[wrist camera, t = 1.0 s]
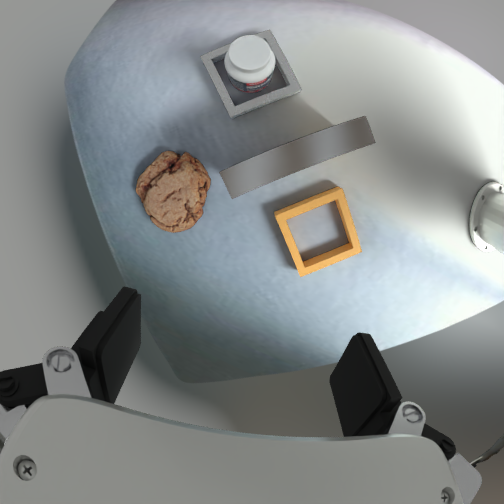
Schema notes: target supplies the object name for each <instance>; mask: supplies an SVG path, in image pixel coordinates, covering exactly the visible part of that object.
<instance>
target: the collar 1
mask: <svg viewBox="0 0 504 504" xmlns="http://www.w3.org/2000/svg"><path fill="white" fill-rule="evenodd" d="M254 36H258V37H261V38H262V39H264V40H265V41H266V42H267V43H268V44H269V46H270V49H271V50H272V51H273V53H274V56H275V63H276V65H277V66H278V68H279V70H280V72H281V74H282V76H283V78H284V80H285V82H286V84H287V86H286V87H283V88H280V89H278V90H275V91H272V92H270V93H267V94H264V95H262V96H259V97H257V98H254V99H252V100H249V101H247V102H244V103H242V104H240V105H237V106H234V104H233V102H232V100H231V97H230V95H229V93H228V91H227V89H226V87H225V85H224V83H223V81H222V79H221V77H220V75H219V73H218V71H217V69H216V67H215V65H214V63H216V62H218V61H220V60H223V59H225V56H226V53H227V51H228V50H229V47H230V45H231V44H232V43H230V44H228V45H225V46H223V47H220V48H218V49H216V50H213V51H211V52H209V53H206V54H204V55H202V56H200V57H201V59H202V61H203V63H204V65H205V67H206V69H207V71H208V73H209V75H210V77H211V79H212V81H213V83H214V85H215V87H216V89H217V91H218V93H219V95H220V97H221V99H222V101H223V103H224V105H225V107H226V109H227V111H228V114H229V116H230V118H231V119H233V118H235V117H238V116H240V115H242V114H245V113H247V112H249V111H252V110H254V109H257V108H259V107H262V106H264V105H267V104H269V103H272V102H275V101H277V100H280V99H283V98H286V97H288V96H291V95H294V94H297V93H299V92H300V91H301V90H302V89H301V87H300V85H299V83H298V81H297V79H296V77H295V75H294V73H293V71H292V69H291V67H290V65H289V63H288V61H287V59H286V58H285V56H284V54H283V52H282V50H281V48H280V47H279V45H278V43H277V41H276V39H275V38H274V36H273V34H272V32H271V31H270V30H267V31H264V32H261V33H257V34H255V35H254Z"/></svg>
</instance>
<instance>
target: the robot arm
mask: <svg viewBox="0 0 504 504" xmlns="http://www.w3.org/2000/svg"><path fill="white" fill-rule="evenodd" d="M470 234H471V238H472V241H473V243H474V244H475V246H476V247H477V248H478V249H480V250H482V251H484V252H490V251H492V250H494V249H496V250H498V251H499V252H501V253H503V254H504V186H503V185H502V184H499V183H496V182H489V183H487V184H486V185H484V186H483V187H482V188H481V190H480V191H479V192H478V194H477V196H476V198H475V200H474V202H473V205H472V209H471V214H470ZM140 325H141V295H140V294H137V290H136V289H132V288H128V287H123V288H122V289H121V291H120V292H119V293H118V294H117V296H116V297H115V298H114V299H113V301H112V302H111V303H110V305H109V306H108V307H107V308H106V310H105V311H104V312H103V311H100V312H98V313H97V315H96V316H95V318H93V320H92V321H91V322H90V324H89V325H88V326H87V328H86V329H85V330H84V332H83V333H82V334H81V336H80V337H79V338H78V340H77V341H76V342H75V344H74V345H73V346H72V348H71V349H70V348H68V347H63V346H59V347H58V346H57V347H54V348H51V349H50V350H48V351H47V352H46V353H45V354H44V356H43V362H42V363H40V364H35V365H30V366H25V367H20V368H16V369H10V370H5V371H2V372H0V504H470V503H471V501H472V500H473V498H474V496H475V495H476V493H477V491H478V489H479V487H480V486H481V483H482V478H481V475H480V474H479V472H478V471H477V470H476V469H475V468H474V467H473V466H472V465H470V464H469V463H468V462H467V461H466V460H465V459H464V458H463V457H462V456H461V455H460V454H459V453H458V454H455V452H456V448H455V445H454V443H453V441H452V440H451V439H450V438H449V437H447V436H445V435H444V434H442V433H440V432H438V431H437V430H435V429H433V428H432V427H430V426H428V425H426V424H425V413H424V412H423V410H422V408H421V407H420V406H418V405H416V404H415V403H413V402H404V403H402V404H401V402H400V400H401V399H402V396H401V394H400V392H399V390H398V388H397V386H396V383H395V381H394V379H393V378H392V375H391V373H390V371H389V369H388V368H387V365H386V363H385V362H384V359H383V357H382V356H381V354H380V352H379V350H378V348H377V346H376V344H375V342H374V340H373V338H372V337H371V335H370V334H366V333H357V334H356V335H354V336H353V337H352V338H351V340H350V342H349V344H348V346H347V348H346V349H345V351H344V353H343V355H342V357H341V358H340V360H339V362H338V364H337V366H336V367H335V369H334V371H333V372H332V374H331V376H330V385H331V389H332V392H333V396H334V400H335V404H336V408H337V412H338V415H339V419H340V423H341V427H342V431H343V435H344V437H286V436H270V435H259V434H249V433H241V432H233V431H225V430H220V429H213V428H208V427H202V426H197V425H192V424H186V423H182V422H178V421H173V420H169V419H165V418H161V417H157V416H153V415H149V414H146V413H142V412H139V411H135V410H132V409H129V408H125V407H122V406H118V405H115V404H114V403H115V400H116V398H117V396H118V394H119V391H120V389H121V387H122V385H123V383H124V380H125V378H126V376H127V374H128V372H129V369H130V367H131V365H132V363H133V361H134V359H135V357H136V354H137V352H138V351H139V348H140V344H141V330H140V329H141V326H140ZM7 437H8V439H7V441H6V443H5V440H6V438H7ZM4 443H5V445H4Z"/></svg>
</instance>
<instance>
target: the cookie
mask: <svg viewBox="0 0 504 504" xmlns="http://www.w3.org/2000/svg"><path fill="white" fill-rule="evenodd" d="M210 183H211V180H210V178H209V176H208V172H207V171H206V170H205V168H204V166H203V165H202V164H201V163H200V161H199V160H197V159H195V158H193V157H192V156H191V155H190V154H189V153H187V152H185V153H184V154H183V155H182V156H181V155H179V154H177V153H175V152H172V151H165V152H163V153H161V154H160V155H159V156H158V157H157V158H156V159H155V161H154V162H153V163H152V164H151V165H149V166H148V167H147V168H146V170H145V171H144V172H143V173H142V174H141V175H140V176H139V178H138V180H137V187H136V193H137V194H138V195H139V196H140V198H141V201H142V203H143V204H144V208H145V211H146V212H147V214H148V215H150V219H151V221H152V222H153V223H154V224H155V225H156V226H157V227H159V228H160V229H162V230H165V231H168V232H173V233H174V232H181V231H184V230H187V229H190V228H191V227H192V226H194V225H195V223H196V222H197V220H198V219H199V218H200V217H201V216H202V214H203V209H202V207H203V206H204V203H205V198H206V197H207V195H206V194H207V191H208V189H209V187H210Z"/></svg>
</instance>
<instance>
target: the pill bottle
mask: <svg viewBox="0 0 504 504" xmlns="http://www.w3.org/2000/svg"><path fill="white" fill-rule="evenodd" d="M224 63H225V68H226V71H227V74H228V77H229V80H230V82H231V83H232V85H233V86H234V87H235V88H236V89H238V90H239V91H242V92H245V93H256V92H259V91H261V90H263V89H264V88H266V87H267V86H268V85H269V83H270V81H271V79H272V75H273V71H274V68H275V56H274V53H273V51H272V50H271V49H270V46H269V44H268V43H267V42H266V41H265V40H264V39H262V38H261V37H258V36H254V35H245V36H241V37H239V38H237V39H236V40H234V41H233V42H232V44H231V45H230V47H229V50H228V51H227V53H226V56H225V60H224Z"/></svg>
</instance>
